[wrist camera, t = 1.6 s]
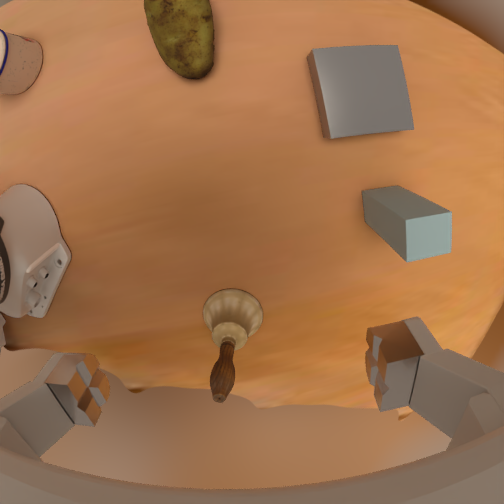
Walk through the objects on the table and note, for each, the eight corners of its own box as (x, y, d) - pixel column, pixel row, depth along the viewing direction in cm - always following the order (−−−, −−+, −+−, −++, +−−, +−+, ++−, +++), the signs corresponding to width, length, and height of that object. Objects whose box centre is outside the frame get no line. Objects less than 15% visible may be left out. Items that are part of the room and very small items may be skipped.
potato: (147, 82, 33) (120, 72, 25) (161, -9, 28) (141, -35, 21) (215, 83, 33) (203, 70, 26) (227, -11, 28) (220, -40, 21)
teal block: (400, 215, 38) (451, 252, 26) (364, 221, 39) (406, 262, 27) (397, 185, 37) (451, 211, 25) (361, 190, 37) (405, 220, 25)
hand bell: (206, 338, 46) (187, 422, 31) (199, 288, 43) (173, 368, 28) (263, 338, 45) (264, 424, 30) (262, 287, 42) (263, 369, 27)
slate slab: (400, 128, 34) (414, 129, 31) (323, 137, 35) (331, 138, 31) (385, 52, 31) (397, 45, 27) (306, 57, 32) (312, 49, 28)
